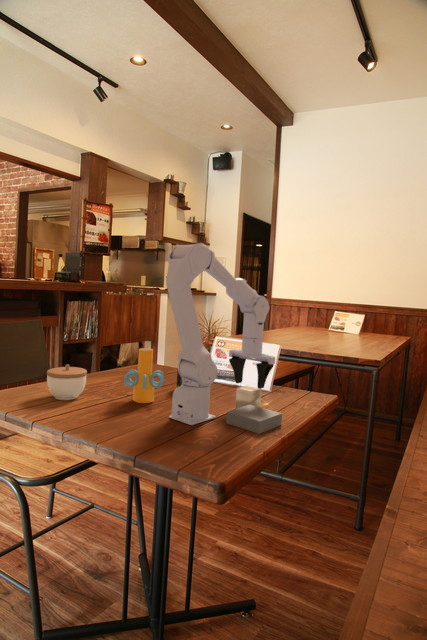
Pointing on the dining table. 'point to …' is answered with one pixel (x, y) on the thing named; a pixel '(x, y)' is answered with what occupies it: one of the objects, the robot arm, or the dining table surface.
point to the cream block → (248, 396)
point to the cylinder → (144, 378)
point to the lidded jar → (66, 382)
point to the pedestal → (254, 418)
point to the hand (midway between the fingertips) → (249, 385)
